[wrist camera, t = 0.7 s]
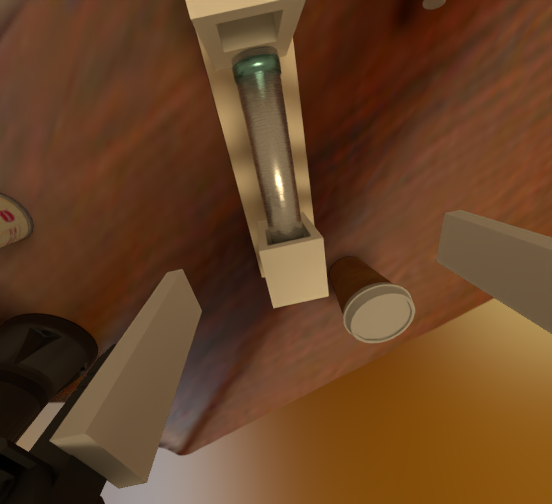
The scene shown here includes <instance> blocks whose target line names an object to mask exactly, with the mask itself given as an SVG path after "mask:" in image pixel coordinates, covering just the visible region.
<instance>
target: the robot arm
mask: <svg viewBox="0 0 552 504" xmlns="http://www.w3.org/2000/svg"><path fill="white" fill-rule="evenodd" d="M436 262H438V263H440V264H441V265H443V266H444V267H446V268H448V269H449V270H451V271H452V272H454V273H456V274H457V275H459V276H460V277H462V278H464V279H465V280H467V281H468V282H470V283H471V284H473V285H475V286H476V287H478V288H479V289H481V290H483V291H484V292H486V293H487V294H489V295H491V296H492V297H494V298H495V299H497V300H499V301H500V302H502V303H503V304H505V305H507V306H508V307H510V308H511V309H513V310H515V311H516V312H518V313H519V314H521V315H523V316H524V317H526V318H527V319H529V320H531V321H532V322H534V323H536V324H537V325H539V326H540V327H542V328H543V329H545V330H547V331H548V332H550V333H551V334H552V238H551V237H548V236H545V235H542V234H538V233H535V232H532V231H528V230H525V229H522V228H518V227H515V226H512V225H509V224H505V223H502V222H499V221H495V220H492V219H489V218H485V217H482V216H479V215H476V214H472V213H469V212H466V211H462V210H457V211H453V212H448V213H445V215H444V221H443V226H442V232H441V237H440V242H439V248H438V253H437V259H436ZM201 312H202V310H201V308H200V306H199V303H198V301H197V299H196V297H195V295H194V293H193V291H192V288H191V286H190V284H189V282H188V280H187V278H186V276H185V273H184V271H183V269H181V270H176V271H171V272H167V273H166V275H165V276H164V278H163V279H162V281H161V282H160V283H159V285H158V286H157V288H156V289H155V291H154V292H153V293H152V295H151V296H150V298H149V299H148V301H147V302H146V303H145V305H144V306H143V308H142V309H141V311H140V312H139V313H138V315H137V316H136V318H135V319H134V321H133V322H132V323H131V325H130V326H129V328H128V329H127V330H126V332H125V333H124V335H123V336H122V338H121V339H120V340H119V342H118V343H117V344H113V345H112V346H111V347H110V348H109V349H108V350H107V351H106V352H105V353H104V354H102V355H101V356H100V357H99V358H98V359H97V361H96V362H95V363H94V365H93V366H92V367H91V369H90V370H89V371H88V373H87V376H86V377H84V378H83V380H82V381H81V382H80V384H79V385H78V386H77V390H76V391H74V392H73V393H72V394H71V396H70V397H69V398H68V400H67V401H66V403H65V404H64V405H63V407H62V408H61V409H60V411H59V412H58V413H57V415H56V416H55V417H54V419H53V420H52V421H51V423H50V424H49V426H48V427H47V428H46V430H45V431H44V432H43V434H42V435H41V436H40V438H39V439H38V440H37V442H36V443H35V444H34V446H33V447H32V448H31V450H30V451H29V452H28V451H26V450H24V449H23V448H21V447H19V446H17V445H16V442H17V441H18V440H19V438H20V437H21V436H22V435H23V433H24V432H25V431H26V430H27V429H28V427H29V426H30V425H31V424H32V422H33V421H34V420H35V419H36V417H37V416H38V415H39V413H40V412H41V411H42V410H43V408H44V407H45V406H46V405H47V404H48V402H49V401H50V400H51V399H53V398H54V397H55V396H56V395H58V394H59V393H60V392H61V391H63V390H64V389H65V388H66V387H68V386H69V385H70V384H71V383H73V382H74V381H75V380H76V379H78V378H79V377H80V376H82V375H83V374H84V373H85V372H86V371H87V370H88V368H89V367H90V366H91V364H92V363H93V362H94V360H95V359H96V357H97V346H96V344H95V342H94V340H93V339H92V337H91V336H90V335H89V334H88V333H87V332H86V331H84V330H83V329H82V328H80V327H79V326H77V325H75V324H73V323H71V322H69V321H67V320H64V319H61V318H58V317H54V316H49V315H43V314H26V315H20V316H17V317H14V318H12V319H10V320H8V321H7V322H5V323H4V324H3V325H1V326H0V504H105V503H104V501H103V498H102V497H101V496H100V494H101V492H102V489H103V487H104V485H105V483H106V481H109V482H110V483H112V484H113V485H114V486H116V487H117V488H123V487H128V486H133V485H138V484H143V483H146V482H147V480H148V477H149V473H150V471H151V468H152V464H153V461H154V458H155V455H156V452H157V449H158V446H159V443H160V440H161V437H162V433H163V430H164V427H165V424H166V421H167V418H168V415H169V412H170V409H171V406H172V402H173V399H174V396H175V393H176V390H177V387H178V384H179V381H180V378H181V374H182V371H183V368H184V365H185V362H186V359H187V356H188V353H189V350H190V347H191V343H192V340H193V337H194V334H195V331H196V328H197V325H198V322H199V319H200V315H201Z"/></svg>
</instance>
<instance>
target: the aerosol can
mask: <svg viewBox="0 0 552 504" xmlns="http://www.w3.org/2000/svg"><path fill="white" fill-rule="evenodd" d="M33 226H34V225H33V221H32V218H31V216H30V215H29V213H28V211H27V210H26V209H25V208H24V207H23V206H22V205H21V204H20V203H18V202H17V201H15V200H14V199H12V198H11V197H9V196H6V195H4V194H2V193H0V248H2V247H4V246H7V245H9V244H12V243H14V242H17V241H19V240H22V239H24V238H26V237H28V236H29V235H30V234H31V233H32V231H33Z"/></svg>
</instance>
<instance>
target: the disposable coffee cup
mask: <svg viewBox="0 0 552 504" xmlns="http://www.w3.org/2000/svg"><path fill="white" fill-rule="evenodd" d="M330 279H331V282H332V285H333V288H334V290H335V293H336V296H337V299H338V302H339V305H340V307H341V310H342V313H343V323H344V326H345V328H346V330H347V331H348V332H349V333H350V334H352V335H353V336H354V337H356V338H357V339H358V340H360V341H363V342H366V343H380V342H384V341H388V340H390V339H392V338H394V337H396V336H398V335H399V334H401V333H402V332H403V331H404V330H406V328H407V327H408V326H409V325H410V324H411V322H412V320H413V318H414V314H415V307H414V304H413V302H412V298H411V295H410V294H409V292H408V291H407V290H406V289H404V288H403V287H401V286H399V285H396V284H393V283H391V282H390V281H388V280H387V279H386V278H385V277H383V276H382V275H380V274H379V273H377V272H376V271H375V270H373V269H372V268H370V267H369V266H368V265H366V264H365V263H364V262H362V261H361V260H360V259H358V258H356V257H344V258H341V259H340V260H338V261H337V262H335V263H334V265H333V266H332V268H331V270H330Z"/></svg>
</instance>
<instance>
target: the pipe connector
mask: <svg viewBox="0 0 552 504" xmlns="http://www.w3.org/2000/svg"><path fill="white" fill-rule="evenodd" d="M445 1H446V0H424V1H423V7H424V8H426V9H435V8H438V7H440V6H442V5H443V4H444V3H445Z"/></svg>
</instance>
